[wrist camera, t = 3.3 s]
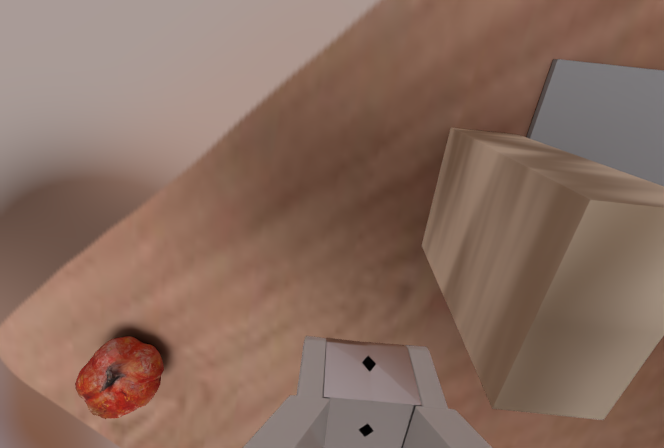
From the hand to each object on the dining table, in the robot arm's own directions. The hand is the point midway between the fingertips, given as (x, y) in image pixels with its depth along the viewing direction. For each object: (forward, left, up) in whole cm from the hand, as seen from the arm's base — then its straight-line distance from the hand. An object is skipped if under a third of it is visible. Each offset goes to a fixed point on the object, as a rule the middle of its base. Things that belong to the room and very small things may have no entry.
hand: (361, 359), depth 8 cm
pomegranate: (+16, +17, -14) cm, 27 cm away
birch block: (-7, 0, -14) cm, 16 cm away
